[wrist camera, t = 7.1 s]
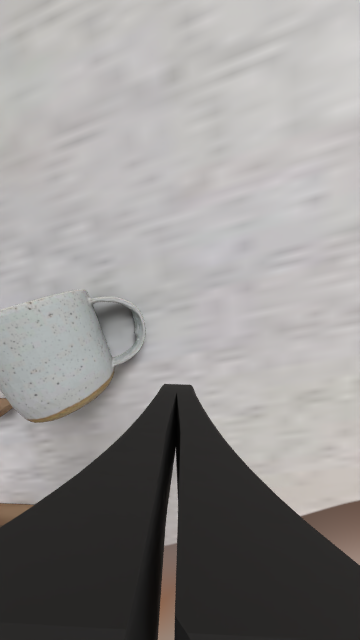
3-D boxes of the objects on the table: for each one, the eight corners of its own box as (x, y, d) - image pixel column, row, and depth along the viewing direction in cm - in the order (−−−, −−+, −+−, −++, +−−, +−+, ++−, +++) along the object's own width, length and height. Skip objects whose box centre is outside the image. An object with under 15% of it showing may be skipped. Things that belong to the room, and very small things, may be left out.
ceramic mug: (64, 384, 20) (-10, 450, 12) (26, 310, 18) (-86, 332, 10) (160, 353, 19) (146, 403, 11) (129, 273, 17) (89, 268, 10)
